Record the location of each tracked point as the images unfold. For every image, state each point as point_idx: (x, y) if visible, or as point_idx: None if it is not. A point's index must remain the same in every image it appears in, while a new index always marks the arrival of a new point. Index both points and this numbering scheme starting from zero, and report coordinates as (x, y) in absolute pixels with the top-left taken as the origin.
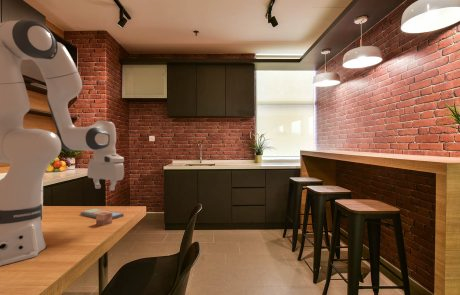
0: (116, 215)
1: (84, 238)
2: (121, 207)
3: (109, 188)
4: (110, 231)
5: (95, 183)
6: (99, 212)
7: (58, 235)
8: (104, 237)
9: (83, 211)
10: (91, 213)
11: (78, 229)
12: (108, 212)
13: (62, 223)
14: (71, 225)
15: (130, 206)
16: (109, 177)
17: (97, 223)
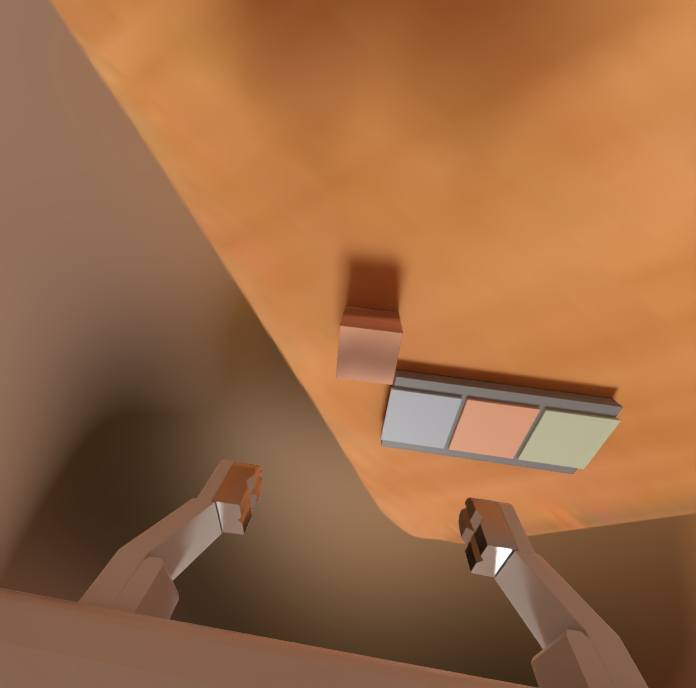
0: (385, 416)
1: (239, 96)
2: None
3: (241, 478)
4: (237, 253)
5: (531, 570)
6: (503, 426)
7: (426, 46)
8: (174, 167)
9: (612, 418)
10: (540, 408)
11: (409, 203)
12: (365, 379)
13: (601, 246)
14: (511, 240)
15: None
16: (46, 679)
17: (389, 312)
